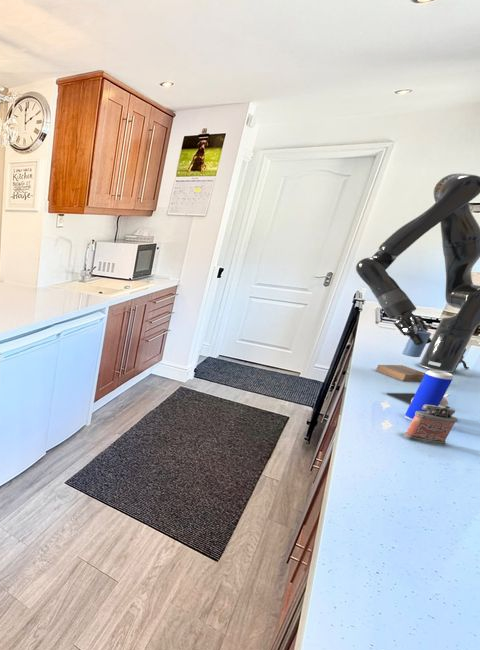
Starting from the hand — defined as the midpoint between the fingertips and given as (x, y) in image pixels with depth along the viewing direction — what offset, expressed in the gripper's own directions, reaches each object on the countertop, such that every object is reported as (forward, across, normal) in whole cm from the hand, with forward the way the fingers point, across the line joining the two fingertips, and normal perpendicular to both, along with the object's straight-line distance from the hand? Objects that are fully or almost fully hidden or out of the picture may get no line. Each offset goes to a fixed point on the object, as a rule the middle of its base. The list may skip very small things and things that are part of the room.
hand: (424, 343), depth 144 cm
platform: (+8, 0, +11) cm, 14 cm away
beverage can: (+23, -43, -5) cm, 49 cm away
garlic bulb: (+22, -35, -3) cm, 42 cm away
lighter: (+28, -57, -10) cm, 64 cm away
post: (+2, 0, +5) cm, 6 cm away
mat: (+18, -25, 0) cm, 31 cm away
